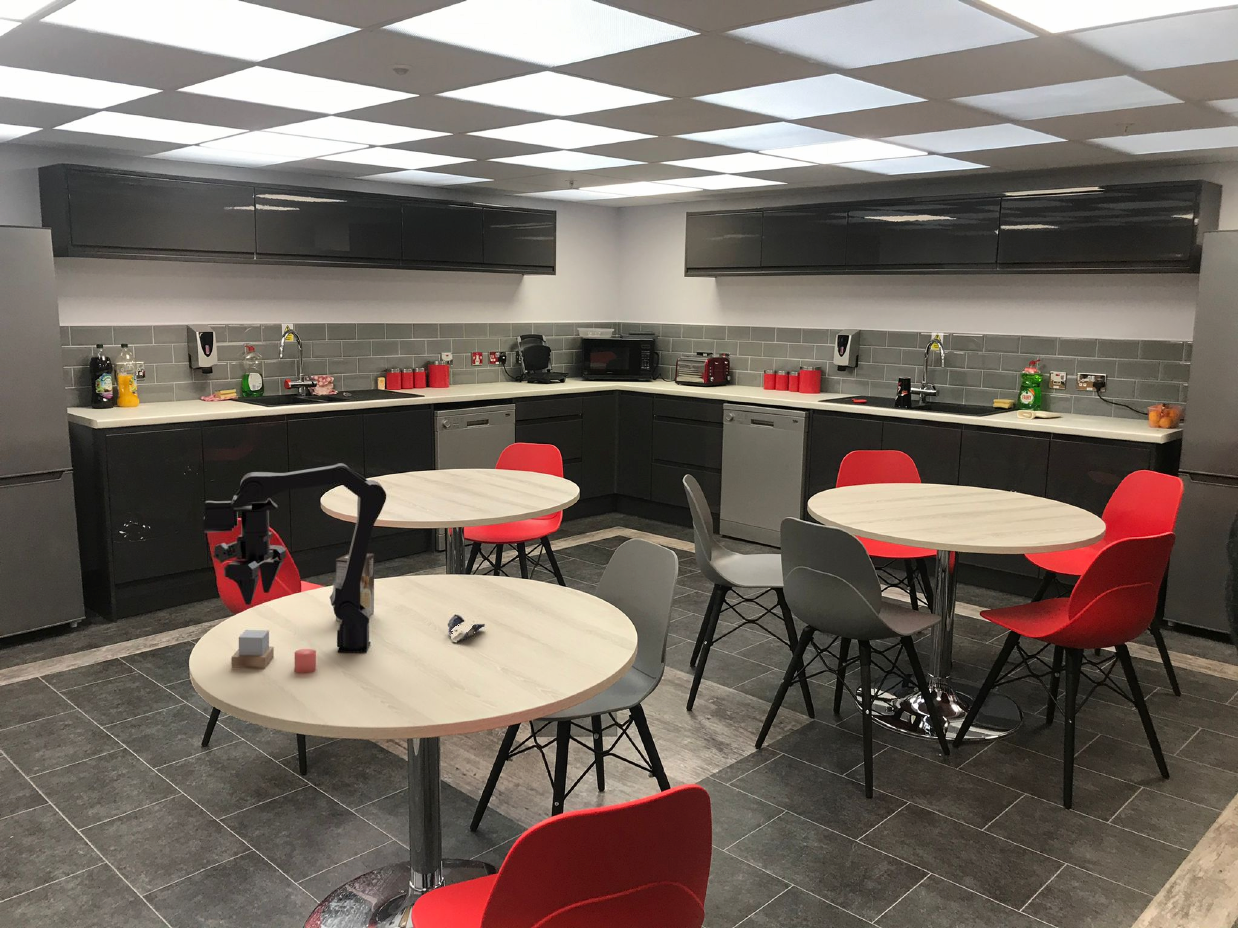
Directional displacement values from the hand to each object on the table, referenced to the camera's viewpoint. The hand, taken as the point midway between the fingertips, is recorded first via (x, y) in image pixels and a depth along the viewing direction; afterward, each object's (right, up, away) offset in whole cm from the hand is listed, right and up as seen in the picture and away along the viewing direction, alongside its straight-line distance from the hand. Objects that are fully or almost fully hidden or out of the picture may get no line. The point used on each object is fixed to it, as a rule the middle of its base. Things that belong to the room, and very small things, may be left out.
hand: (257, 598), depth 207 cm
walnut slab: (0, -14, -3) cm, 14 cm away
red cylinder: (+12, -15, -5) cm, 20 cm away
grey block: (0, -11, -3) cm, 12 cm away
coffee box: (+13, -10, +32) cm, 36 cm away
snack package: (+42, -13, +23) cm, 49 cm away
